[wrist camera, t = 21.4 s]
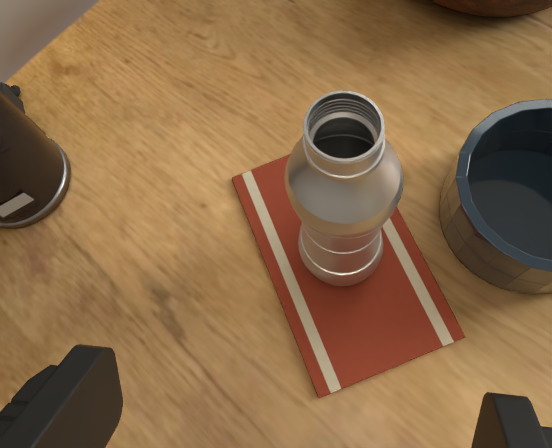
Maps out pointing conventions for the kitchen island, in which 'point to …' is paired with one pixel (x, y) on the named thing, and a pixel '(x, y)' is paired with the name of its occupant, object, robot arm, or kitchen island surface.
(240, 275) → the kitchen island surface
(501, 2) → the wooden bowl
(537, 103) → the pot
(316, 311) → the towel
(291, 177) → the metal water bottle
